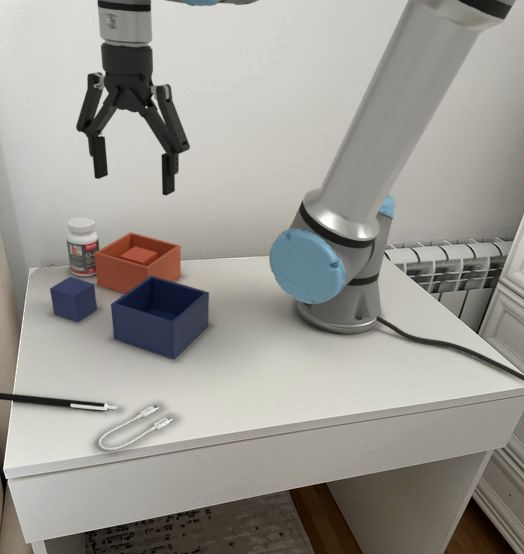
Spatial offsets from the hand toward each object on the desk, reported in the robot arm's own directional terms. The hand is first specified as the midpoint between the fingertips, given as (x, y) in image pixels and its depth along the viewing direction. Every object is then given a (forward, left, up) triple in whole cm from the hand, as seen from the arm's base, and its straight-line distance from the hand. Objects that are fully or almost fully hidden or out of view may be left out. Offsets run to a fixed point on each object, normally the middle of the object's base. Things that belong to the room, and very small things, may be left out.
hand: (134, 184), depth 92 cm
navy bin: (-13, +13, -19) cm, 26 cm away
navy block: (+3, +15, -19) cm, 24 cm away
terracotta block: (0, 0, -18) cm, 18 cm away
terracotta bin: (0, 0, -19) cm, 19 cm away
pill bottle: (+11, +2, -19) cm, 22 cm away
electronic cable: (-22, +34, -18) cm, 45 cm away
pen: (-9, +35, -18) cm, 40 cm away
